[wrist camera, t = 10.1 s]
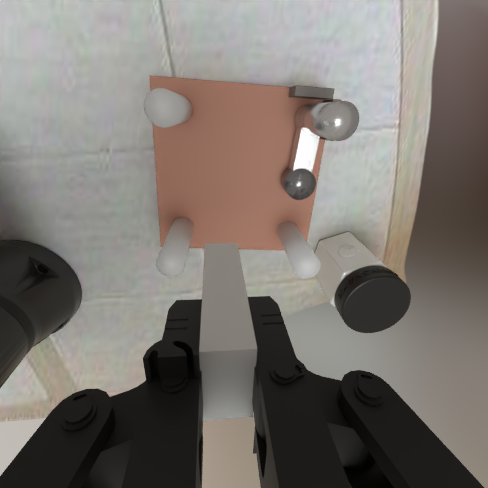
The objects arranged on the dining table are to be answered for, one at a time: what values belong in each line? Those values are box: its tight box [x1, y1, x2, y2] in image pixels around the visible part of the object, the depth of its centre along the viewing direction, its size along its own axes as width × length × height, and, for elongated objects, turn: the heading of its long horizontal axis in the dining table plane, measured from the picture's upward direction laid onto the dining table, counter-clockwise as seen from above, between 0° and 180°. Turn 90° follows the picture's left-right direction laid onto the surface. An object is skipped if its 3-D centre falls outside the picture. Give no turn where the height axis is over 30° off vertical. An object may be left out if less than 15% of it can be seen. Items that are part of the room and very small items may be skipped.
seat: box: [144, 76, 341, 279], centre depth 31 cm, size 20×20×12 cm
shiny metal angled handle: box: [281, 101, 359, 200], centre depth 29 cm, size 10×4×10 cm, turn 173°
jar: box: [315, 232, 411, 333], centre depth 38 cm, size 9×8×12 cm
